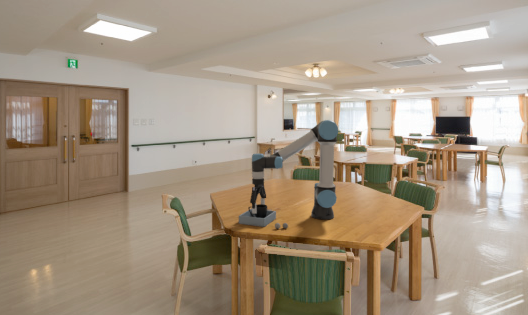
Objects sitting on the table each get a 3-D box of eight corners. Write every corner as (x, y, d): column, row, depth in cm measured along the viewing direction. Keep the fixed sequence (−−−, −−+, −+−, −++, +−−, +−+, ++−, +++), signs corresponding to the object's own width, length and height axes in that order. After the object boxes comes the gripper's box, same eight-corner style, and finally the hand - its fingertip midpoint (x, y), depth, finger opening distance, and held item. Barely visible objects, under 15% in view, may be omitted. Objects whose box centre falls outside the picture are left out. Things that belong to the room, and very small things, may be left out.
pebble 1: (281, 228, 196) (281, 222, 195) (279, 229, 193) (279, 224, 192) (275, 227, 197) (275, 221, 197) (273, 229, 194) (273, 223, 194)
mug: (249, 218, 214) (249, 204, 213) (267, 218, 213) (267, 204, 212) (247, 221, 206) (247, 207, 205) (266, 222, 205) (266, 207, 204)
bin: (276, 218, 216) (276, 211, 215) (264, 227, 198) (264, 219, 197) (251, 215, 222) (251, 208, 222) (238, 223, 204) (238, 215, 204)
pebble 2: (288, 227, 196) (288, 222, 196) (286, 229, 194) (287, 224, 193) (283, 227, 198) (283, 222, 197) (281, 228, 195) (281, 223, 194)
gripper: (260, 174, 220) (260, 205, 222) (244, 180, 197) (244, 215, 199) (270, 175, 217) (271, 206, 219) (255, 181, 194) (256, 216, 196)
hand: (258, 210), depth 209 cm, fingers open, 13 cm apart
